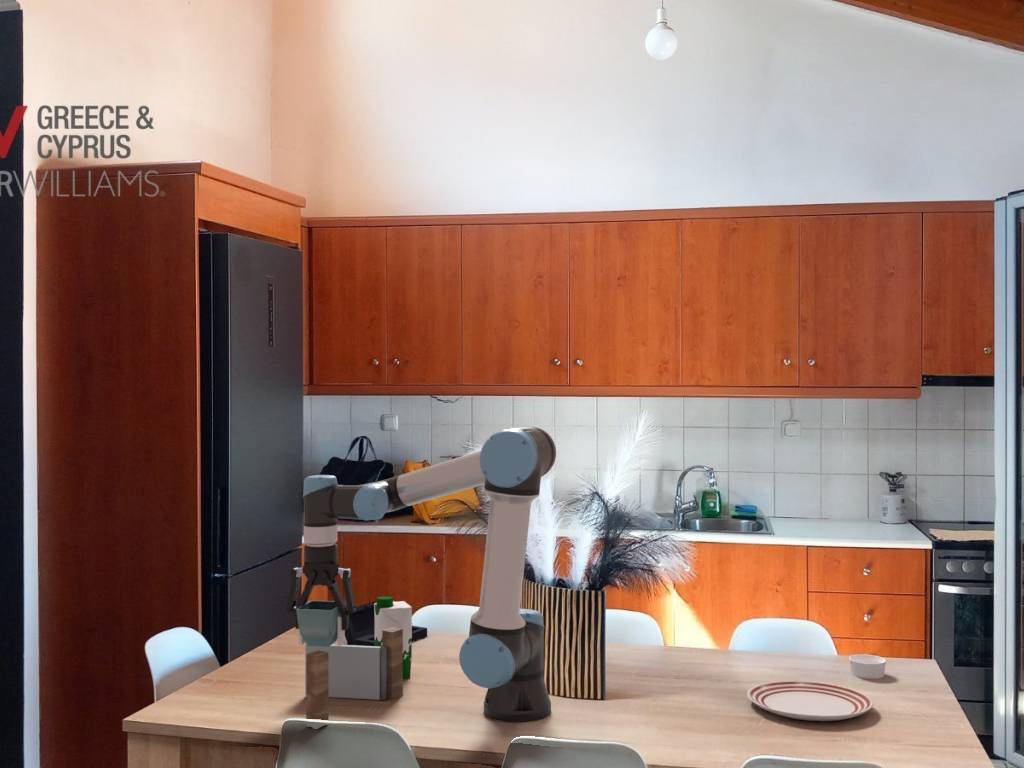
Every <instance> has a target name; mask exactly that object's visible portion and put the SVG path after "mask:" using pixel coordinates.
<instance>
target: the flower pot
mask: <svg viewBox="0 0 1024 768" xmlns="http://www.w3.org/2000/svg"><path fill="white" fill-rule="evenodd" d="M345 603H346V601H345ZM346 604H347V603H346ZM296 611H297V618H298V625H299V629H298V631H299V630H300V633H301V636H302V638H303V640H304V641H305V643H304V644H307V645H308V646H319V647H329V646H330V645H332V644H334V643H336V642H338V624H337V617H338V616H339V615H341V614H340V612H339V610H338V607H337V605H336V603H335V601H334V600H310V601H307V603H306V604H305V605H303V606H301V607H299V608H297V609H296Z"/></svg>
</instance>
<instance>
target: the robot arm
mask: <svg viewBox="0 0 1024 768" xmlns="http://www.w3.org/2000/svg"><path fill="white" fill-rule="evenodd" d="M556 458H557V447H556V444H555V441H554V439H553V437H552V436H551V435H550V434H549V433H548V432H546V431H545V430H544V429H542V428H540V427H537V426H527V425H526V426H522V427H507V428H504V429H501V430H499V431H497V432H495V433H493V434H492V435H490V436H489V438H488V439H486V441H485V442H484V443H483V446H482V447H481V449H480V450H478V451H476V452H471V453H469V454H466V455H463V456H459V457H455V458H452V459H449V460H446V461H445V460H444V461H443V462H439V463H435V464H432V465H429V466H426V467H423V468H419V469H416V470H412V471H410V472H406V473H403V474H400V475H396V476H393V477H389V478H387V479H382V480H378V481H375V482H368V483H364V484H358V485H354V484H353V485H349V484H348V485H347V484H345V485H344V484H338V479H337V477H336V476H335V475H333V474H332V475H329V474H316V475H309V476H307V477H305V478H304V480H303V491H302V492H303V494H302V500H303V543H304V544H305V545H304V546H303V562H304V563H303V566H302V567H294V568H292V569H291V570H290V576H291V577H290V578H291V581H290V586H289V594H288V598H287V603H286V612H288V613H291V614H293V615H294V628H295V629H296V630H298V646H299V645H301V646H302V645H304V644H306V643H305V641H304V640H303V638H302V636H301V633H300V630H299V625H298V618H297V611H296V609H297V608H299V607H301V606H303V605H305V604H306V603H307V602H308V600H309V598H310V596H311V593H312V591H313V588H314V587H316V586H319V585H321V586H324V587H327V589H328V590H329V592H330V594H331V596H332V598H333V601H335V603H336V605H337V607H338V610H339V612H340V614H341V615H339V616H338V617H337V624H338V639H337V645H338V646H341V645H345V643H346V638H345V630H347V629H348V627H349V614H352V613H354V612H355V611H356V610H357V604H356V597H355V593H354V588H353V582H352V569H351V568H350V567H348V568H342V567H340V566H339V562H338V561H339V557H338V556H339V552H338V551H339V549H338V548H339V547H338V544H337V542H338V520H339V519H347V520H348V519H349V520H363V521H371V520H372V521H374V520H376V521H377V520H381V519H383V517H384V515H385V514H386V513H392V512H395V511H396V512H397V511H399V510H401V509H404V508H407V507H410V506H414V505H418V504H420V503H423V502H428V501H431V500H435V499H437V498H442V497H444V496H448V495H453V494H456V493H458V492H462V491H466V490H469V489H473V488H477V487H479V486H483V485H484V486H483V487H484V489H483V490H484V491H485V492H486V494H487V495H488V496H489V499H490V500H489V511H488V517H487V518H488V521H487V528H486V529H487V530H486V541H485V549H484V559H483V568H482V576H481V578H482V579H481V588H480V596H479V606H478V610H476V611H475V612H474V613H473V614H472V615H471V616H470V622H469V623H470V624H469V632H468V633H469V634H468V637H467V638H466V639H465V640H464V641H463V643H462V645H461V647H460V649H459V655H458V656H459V659H458V660H459V665H460V668H461V671H462V672H463V674H464V675H465V676H466V678H467V679H468V680H469V681H470V682H471V683H473V684H474V685H476V686H478V687H480V688H483V689H487V691H486V694H485V697H484V700H483V714H484V715H485V716H486V717H487V718H488V719H492V720H495V721H498V722H502V723H503V722H504V723H513V724H514V723H515V724H517V723H518V724H519V723H531V722H537V721H541V720H544V719H546V718H548V717H549V716H550V715H551V713H552V701H551V699H550V695H549V693H548V688H547V686H546V681H545V680H544V679H545V678H544V642H545V641H544V639H545V638H544V636H545V635H544V632H545V630H544V629H545V625H544V616H543V614H542V613H541V612H540V611H539V610H536V609H530V608H529V609H528V608H521V602H522V601H521V600H522V592H523V582H524V575H525V574H524V572H525V565H526V564H525V563H526V553H527V544H528V534H529V528H530V527H529V526H530V518H531V517H530V516H531V507H532V502H533V501H534V500H535V499H537V498H538V497H539V496H540V493H541V492H540V490H541V483H542V482H541V481H542V477H544V476H545V475H546V474H548V473H549V472H550V471H551V470H552V468H553V466H554V464H555V462H556ZM303 574H304V576H305V578H306V579H307V580H306V583H305V584H304V588H303V590H302V592H301V595H300V598H299V600H298V595H299V590H300V583H301V577H302V576H303ZM338 574H339V576H340V578H341V580H342V581H341V582H342V586H343V592H344V593H343V594H344V597H345V599H344V597H343V594H342V592H341V589H340V588H339V585H338V584H339V583H338V581H337V579H336V577H337V576H338ZM297 601H298V603H297ZM345 602H346V603H345Z"/></svg>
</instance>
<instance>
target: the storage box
mask: <svg viewBox="0 0 1024 768" xmlns="http://www.w3.org/2000/svg"><path fill="white" fill-rule="evenodd" d="M374 603H377V600H374V601H371V602H367V603H364V604H360V605H356V607H357V610H356V611H355V612H354V613H352V614H349V627H348V629H347V630H345V642H346V643H347V644H346V645H357V646H375V615H374ZM426 637H428V628H427V627H422V626H419V625H418V626H416V625H412V643H414V642H415V641H419V640H421V639H424V638H426Z"/></svg>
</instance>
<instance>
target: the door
mask: <svg viewBox="0 0 1024 768" xmlns="http://www.w3.org/2000/svg"><path fill="white" fill-rule="evenodd" d="M304 644H305V646H304V647H305V650H304V652H305V655H304V656H305V658H304V659H305V660H304V661H305V662H304V663H305V665H304V666H305V670H304V671H305V672H304V674H305V676H304V677H305V682H304V684H305V688H304V689H305V690H304V691H305V693H304V694H305V697H306V654H308V653H311V652H314V651H318V650H320V651H325V652H329V698H339V699H340V698H341V699H343V698H344V699H357V700H358V699H361V700H375V701H376V700H378V701H379V700H381V701H385V700H388V699H387V647H378V646H357V645H348V644H343V645H341V646H338V644H334V643H333V644H332V645H330V646H329V647H319V646H308V645H307V644H306V643H304Z"/></svg>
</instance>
